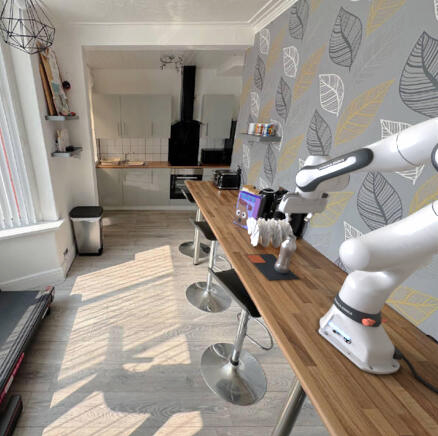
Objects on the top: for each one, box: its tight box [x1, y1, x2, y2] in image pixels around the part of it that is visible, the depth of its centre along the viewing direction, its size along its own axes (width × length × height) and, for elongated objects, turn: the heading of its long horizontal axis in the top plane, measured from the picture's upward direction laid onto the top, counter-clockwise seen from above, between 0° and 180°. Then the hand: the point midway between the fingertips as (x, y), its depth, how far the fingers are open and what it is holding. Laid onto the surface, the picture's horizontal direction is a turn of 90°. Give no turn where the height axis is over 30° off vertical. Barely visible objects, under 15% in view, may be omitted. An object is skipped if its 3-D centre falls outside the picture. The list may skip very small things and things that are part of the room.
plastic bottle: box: [274, 234, 297, 274], centre depth 114 cm, size 6×7×20 cm
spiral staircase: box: [246, 217, 294, 249], centre depth 140 cm, size 18×18×25 cm
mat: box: [245, 253, 300, 281], centre depth 123 cm, size 22×16×1 cm
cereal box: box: [232, 190, 266, 231], centre depth 163 cm, size 17×5×24 cm, turn 27°
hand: (297, 221), depth 107 cm, fingers open, 8 cm apart
